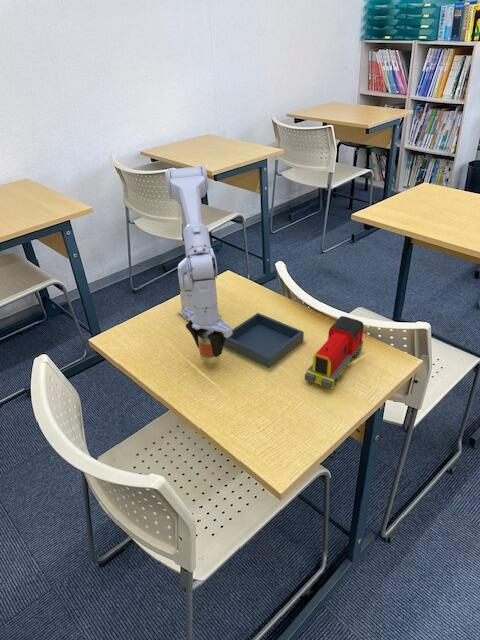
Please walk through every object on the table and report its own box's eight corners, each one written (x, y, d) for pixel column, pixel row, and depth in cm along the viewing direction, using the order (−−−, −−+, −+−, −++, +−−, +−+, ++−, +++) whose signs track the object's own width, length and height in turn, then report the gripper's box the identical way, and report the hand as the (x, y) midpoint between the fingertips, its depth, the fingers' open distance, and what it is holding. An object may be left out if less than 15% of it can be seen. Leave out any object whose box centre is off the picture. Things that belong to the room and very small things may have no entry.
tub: (223, 347, 128) (222, 336, 126) (258, 323, 137) (257, 312, 135) (269, 370, 119) (269, 358, 117) (303, 342, 128) (303, 331, 126)
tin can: (196, 355, 120) (193, 332, 116) (213, 348, 122) (210, 324, 118) (207, 365, 116) (205, 341, 112) (224, 357, 119) (222, 333, 115)
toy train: (362, 352, 123) (366, 319, 118) (330, 396, 110) (332, 361, 105) (338, 344, 127) (340, 312, 121) (303, 386, 113) (304, 351, 108)
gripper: (170, 300, 112) (177, 347, 120) (215, 320, 104) (220, 370, 111) (192, 288, 117) (197, 334, 124) (237, 307, 109) (240, 355, 116)
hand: (209, 350), depth 118 cm, fingers closed on tin can, 5 cm apart
